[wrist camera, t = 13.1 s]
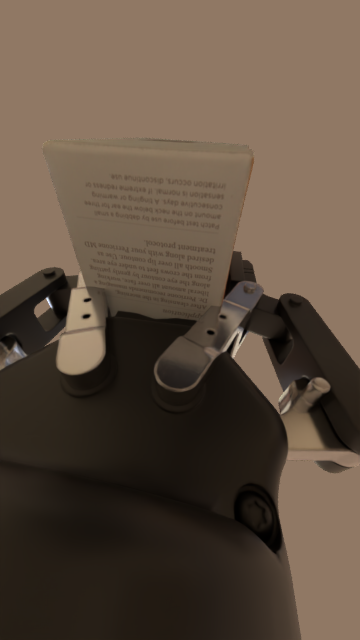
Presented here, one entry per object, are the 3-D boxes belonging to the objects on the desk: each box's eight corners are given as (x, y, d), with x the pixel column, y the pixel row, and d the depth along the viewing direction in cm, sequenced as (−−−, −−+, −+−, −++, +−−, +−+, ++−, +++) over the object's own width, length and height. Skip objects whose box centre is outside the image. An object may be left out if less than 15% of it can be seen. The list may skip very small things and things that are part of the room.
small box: (250, 140, 10) (217, 306, 17) (142, 135, 11) (153, 296, 18) (262, 151, 4) (205, 394, 11) (29, 139, 5) (112, 373, 12)
